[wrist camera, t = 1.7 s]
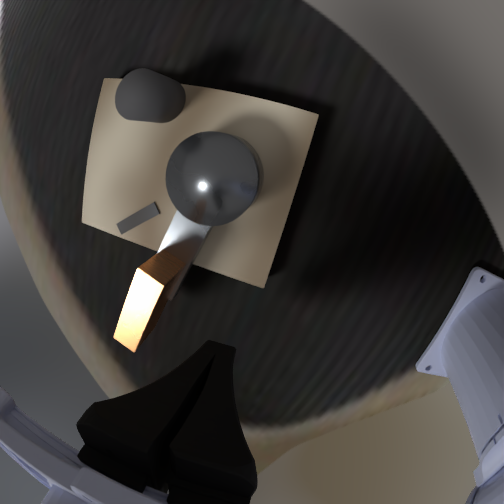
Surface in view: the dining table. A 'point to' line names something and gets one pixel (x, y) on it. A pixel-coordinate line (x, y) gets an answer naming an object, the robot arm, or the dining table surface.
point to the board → (155, 163)
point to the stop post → (149, 97)
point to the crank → (190, 221)
